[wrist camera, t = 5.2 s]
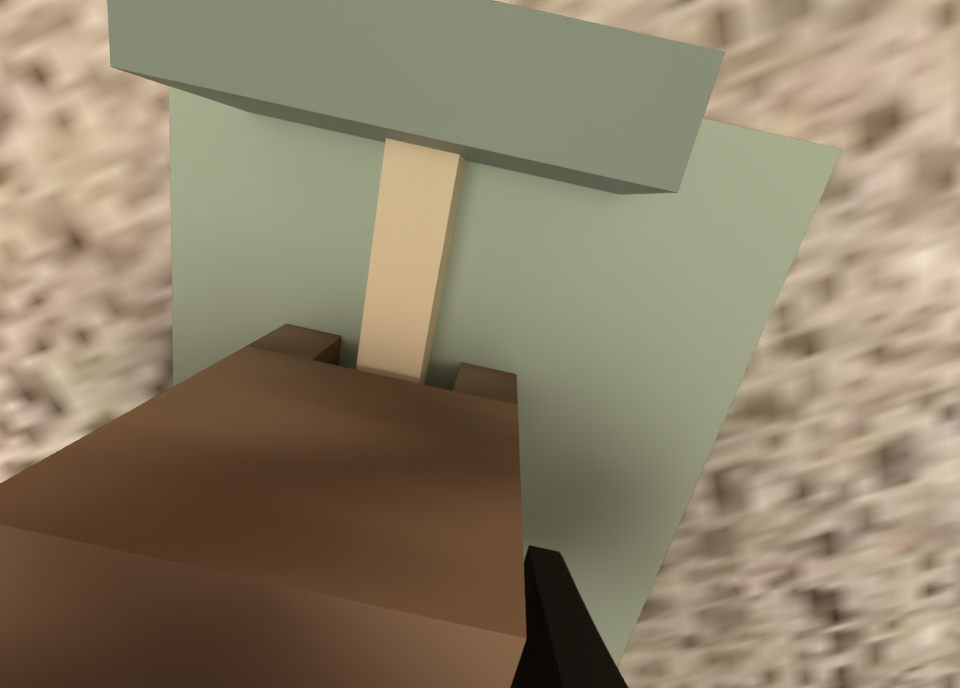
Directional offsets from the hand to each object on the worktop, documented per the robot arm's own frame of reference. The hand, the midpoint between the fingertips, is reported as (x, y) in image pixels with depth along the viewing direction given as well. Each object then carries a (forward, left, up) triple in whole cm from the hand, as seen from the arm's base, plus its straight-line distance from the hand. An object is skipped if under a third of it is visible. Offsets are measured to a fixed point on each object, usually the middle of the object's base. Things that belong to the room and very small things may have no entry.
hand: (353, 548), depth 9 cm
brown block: (0, 0, -2) cm, 2 cm away
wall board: (-1, 0, -3) cm, 3 cm away
